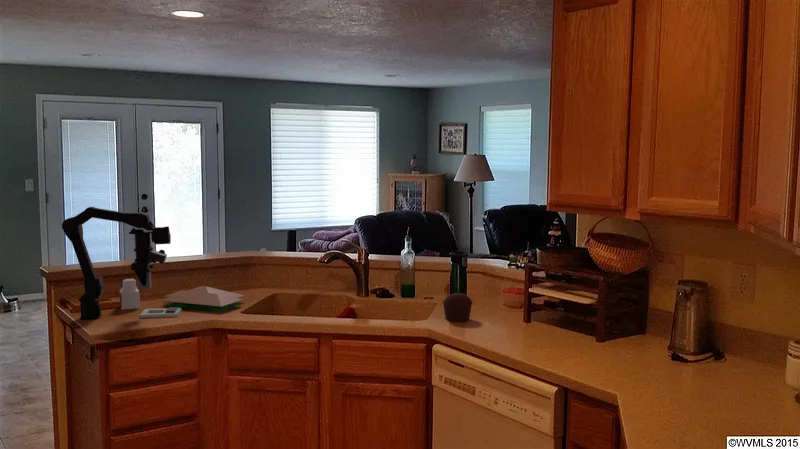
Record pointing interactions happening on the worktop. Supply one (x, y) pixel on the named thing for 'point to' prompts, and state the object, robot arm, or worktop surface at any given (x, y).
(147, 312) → the plate
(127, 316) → the worktop surface
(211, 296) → the house
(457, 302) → the muffin
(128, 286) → the medicine bottle
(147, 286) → the block
